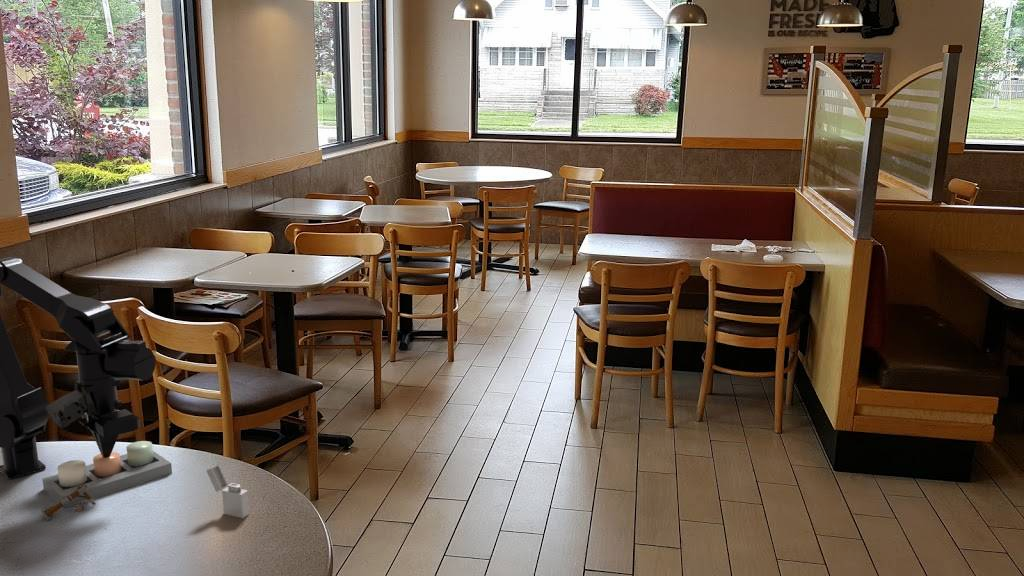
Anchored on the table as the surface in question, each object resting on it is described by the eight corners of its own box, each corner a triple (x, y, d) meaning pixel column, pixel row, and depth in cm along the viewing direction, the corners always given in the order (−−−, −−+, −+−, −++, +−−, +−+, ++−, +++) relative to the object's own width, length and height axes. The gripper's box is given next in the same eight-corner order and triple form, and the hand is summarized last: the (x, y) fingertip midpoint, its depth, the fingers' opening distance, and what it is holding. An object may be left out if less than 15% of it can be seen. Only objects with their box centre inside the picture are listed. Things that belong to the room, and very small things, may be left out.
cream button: (55, 481, 154) (53, 465, 154) (81, 473, 157) (79, 458, 157) (64, 489, 151) (62, 473, 151) (91, 481, 154) (89, 465, 154)
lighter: (249, 513, 147) (246, 469, 145) (243, 518, 146) (239, 474, 144) (216, 506, 150) (212, 462, 148) (209, 510, 148) (205, 466, 146)
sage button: (124, 460, 163) (122, 445, 162) (147, 453, 166) (145, 439, 165) (134, 467, 160) (132, 452, 159) (157, 460, 163) (156, 445, 162)
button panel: (43, 488, 156) (42, 478, 155) (148, 457, 169) (147, 447, 169) (64, 507, 149) (62, 496, 149) (172, 472, 162) (171, 463, 162)
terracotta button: (91, 472, 159) (89, 456, 158) (115, 464, 162) (113, 449, 161) (100, 479, 156) (98, 464, 155) (125, 472, 159) (123, 456, 158)
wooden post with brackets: (101, 501, 149) (87, 482, 147) (56, 532, 146) (41, 513, 144) (98, 498, 151) (84, 478, 149) (54, 528, 147) (39, 508, 145)
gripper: (29, 373, 155) (40, 454, 159) (68, 399, 142) (79, 487, 146) (94, 359, 163) (103, 437, 166) (136, 383, 150) (145, 467, 154)
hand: (106, 456), depth 158 cm, fingers closed, pressing on terracotta button
